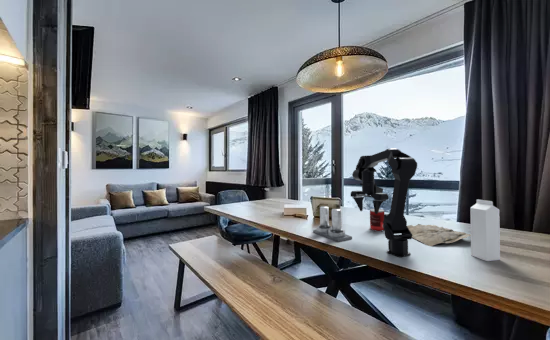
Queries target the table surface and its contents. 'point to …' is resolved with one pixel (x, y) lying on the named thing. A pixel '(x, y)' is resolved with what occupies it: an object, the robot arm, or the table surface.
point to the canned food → (376, 220)
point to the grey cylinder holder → (329, 227)
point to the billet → (336, 221)
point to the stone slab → (435, 234)
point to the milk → (485, 231)
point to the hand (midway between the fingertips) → (368, 212)
